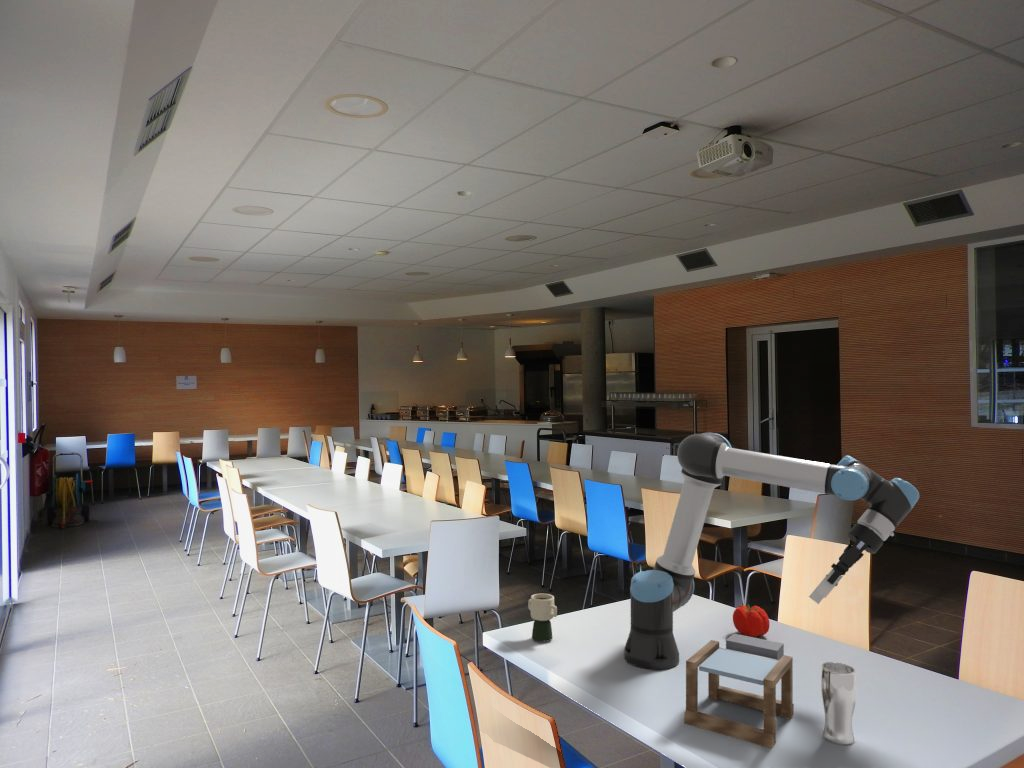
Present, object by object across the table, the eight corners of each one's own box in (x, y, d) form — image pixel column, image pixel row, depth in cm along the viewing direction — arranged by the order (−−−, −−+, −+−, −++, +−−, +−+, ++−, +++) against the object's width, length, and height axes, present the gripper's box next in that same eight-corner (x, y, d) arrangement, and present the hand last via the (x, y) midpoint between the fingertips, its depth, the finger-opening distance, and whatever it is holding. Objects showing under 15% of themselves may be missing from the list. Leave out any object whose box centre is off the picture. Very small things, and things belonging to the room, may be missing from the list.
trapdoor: (788, 661, 165) (788, 644, 165) (763, 692, 147) (763, 673, 147) (729, 648, 173) (729, 632, 173) (699, 677, 155) (699, 659, 155)
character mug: (563, 641, 206) (564, 597, 206) (548, 647, 201) (549, 602, 201) (536, 632, 213) (536, 590, 214) (520, 638, 208) (521, 595, 208)
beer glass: (814, 730, 151) (814, 661, 152) (844, 729, 152) (844, 661, 152) (831, 746, 144) (831, 674, 145) (863, 745, 145) (863, 673, 145)
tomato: (730, 637, 211) (730, 609, 211) (737, 627, 220) (737, 600, 221) (766, 644, 206) (766, 614, 206) (772, 633, 215) (772, 605, 215)
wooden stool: (684, 723, 154) (684, 662, 155) (712, 693, 170) (712, 638, 170) (772, 748, 143) (772, 682, 144) (793, 714, 159) (793, 655, 159)
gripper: (895, 532, 159) (838, 602, 156) (874, 551, 181) (823, 613, 178) (865, 511, 162) (809, 579, 160) (848, 532, 184) (798, 592, 182)
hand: (816, 597), depth 169 cm, fingers open, 13 cm apart
